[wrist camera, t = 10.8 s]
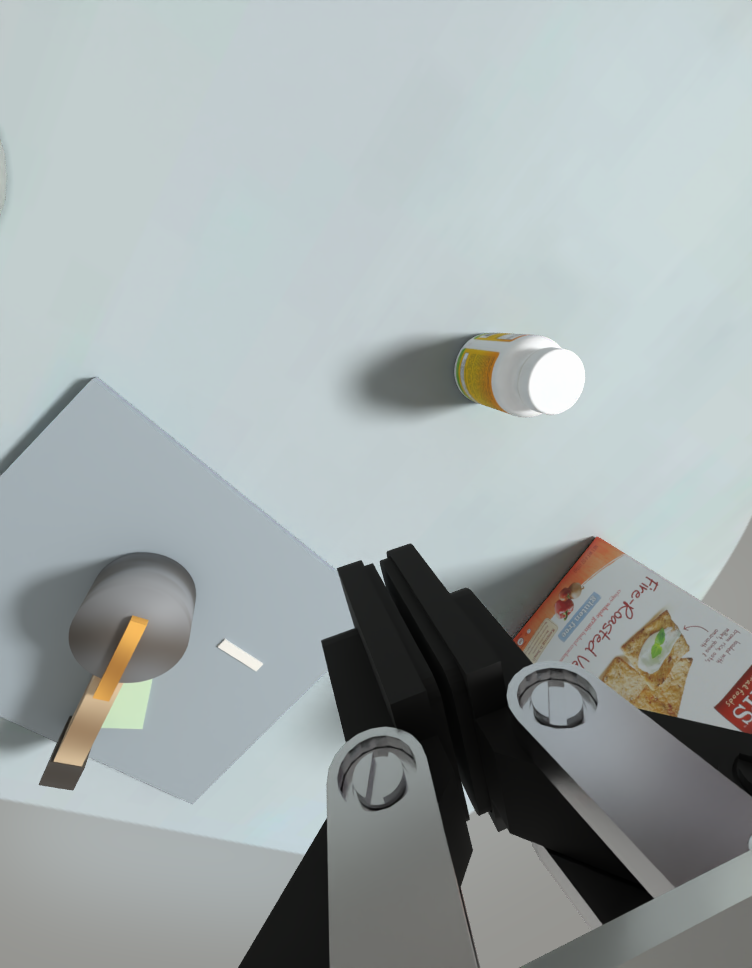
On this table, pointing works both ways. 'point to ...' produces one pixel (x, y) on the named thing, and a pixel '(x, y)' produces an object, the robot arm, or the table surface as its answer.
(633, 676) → the cracker box
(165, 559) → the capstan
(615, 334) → the table surface
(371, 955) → the robot arm
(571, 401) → the supplement bottle
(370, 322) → the table surface
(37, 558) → the board
